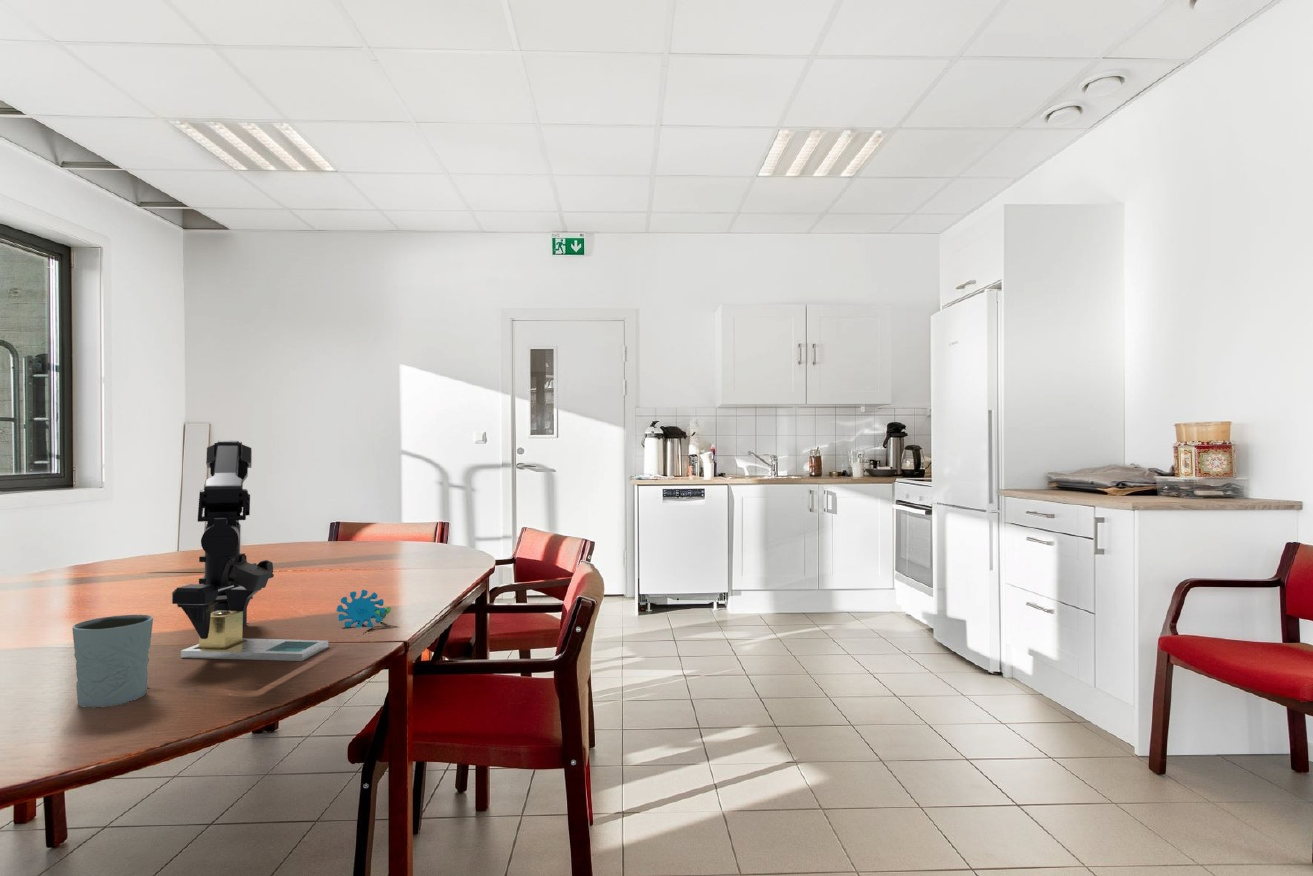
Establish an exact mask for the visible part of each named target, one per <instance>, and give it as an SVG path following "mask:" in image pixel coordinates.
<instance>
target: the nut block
mask: <svg viewBox="0 0 1313 876" xmlns="http://www.w3.org/2000/svg"><path fill="white" fill-rule="evenodd" d="M243 627H244V626H243V611H215V612H212V613H211V618H210V627H209V634H208V638H207V639H201V638H200V636H199V635H198V644H199V649H209V650H227V649H230V648H232V647H234V646H237V645H239V644H241V643H242V638H243Z"/></svg>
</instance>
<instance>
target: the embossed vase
mask: <svg viewBox="0 0 1313 876" xmlns="http://www.w3.org/2000/svg"><path fill="white" fill-rule="evenodd" d="M153 622H154V617H153V615H147V614H126V615H125V614H122V615H112V616H104V617H99V618H93V619H88V620H84V621H81V622H78V623H76V624H74V625H73V626H72V640H73V646H74V647H73V648H74V659H75V661H76V662H75V669H76V670H75V671H76V679H77V681H76V686H75V687H76V696H77V705H78V706H79V705H81V706H85V707H84V708H87V707H101V708H106V707H105V706H109V707H112V706H111V705H115V706H119V704H120V705H124V704H127V702H128V703H130V702H129V701H131V702H133V701H132V700H134V701H136V699H137V700H139V699H140V697H141V698H142V696H143V697H144V696H145V695H146V693H147V687H148V679H149V678H148V677H149V673H148V665H149V661H150V658H149V653H150V651H149V650H150V648H151V642H152V641H151V640H152V631H153V624H154V623H153ZM138 698H139V699H138ZM123 703H124V704H123ZM81 706H80V707H81ZM102 706H104V707H102Z"/></svg>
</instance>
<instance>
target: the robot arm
mask: <svg viewBox="0 0 1313 876" xmlns="http://www.w3.org/2000/svg"><path fill="white" fill-rule="evenodd" d="M252 453H253V452H252V447H250V446H248V445H245V444H243V442H242V441H239V440H217V441H214V444H213V445H210V446H207V447H206V461H205V462H206V468H207V469H210V470H209V471H210V472H209V473H210V475H211V476H210V477H209V478H206V479H205V482H204V486H203V489H200V490H199V498H198V510H197V522H198V523H199V522H200V523H201V522H203V523H204V522H206V523H207V524H206V525H205V529H204V532H203V534H202V536H201V539H200V546H201V548H202V550H203V551H204V555H201V556H198V557H199V558H198V559H199V561H198V562H199V563H204V575H203V577H201V578H198V583H189V584H186V585H182V586H179V587H176V588H175V589H174V590H173V591H172V592H171V604H173V605H176V606H177V608H181V610H182V611H183V612H184V614H185V615H186V616H187V618H188V619H189V621H190V623H191V624H192V626H193V627H194V629H195V631H196V633H197V635H198V637H199V636H200V638H201V639H207V638H208V634H209V627H210V618H211V613H212V612H215V611H243V627H245V626H247V625H250V623H248V621H247V618H248V606H249V603H250V601H251V600H253V599H254V595H256V594H257V593H258V592H259V591H261V590H262V589H263V588H266V586H267V585H268V581H269V580H270V579H273V578H274V574H273V573H274V563H273V562H272V561H270V560H268V559H265V560H262V561H261V560H260V561H259V562H258V563H256V562H254V563H251V562H248V559H247V555H246V553H241V524H240V521H246V520H247V516H250V514H251V513H250V512H251V494H250V493H249V490H248V489H246V488H244V482H246V481H245V480H247V478H248V476H249V468H250V469H251V468H252V461H253V459H252V458H253V456H252Z"/></svg>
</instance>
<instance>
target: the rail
mask: <svg viewBox="0 0 1313 876" xmlns="http://www.w3.org/2000/svg"><path fill="white" fill-rule="evenodd" d="M328 648H329V640H318V639H316V640H315V639H284V638H283V639H279V638H278V639H277V638H276V639H275V638H245V637H242V643H241V644H239V645H237V646H234V647H232V648H230V649H227V650H209V649H199V643H197V644H195V645H192V646H190V647H186V648H184V649H181V650H180V658H183V659H185V658H187V659H213V660H214V659H219V660H220V659H221V660H254V661H255V660H257V661H260V660H261V661H289V662H291V661H293V662H294V661H295V662H302V661H304V660H306V659H309V658H311V657H312V656H314V655H316V654H318V653H319V652H321V651H324V650H326V649H328Z"/></svg>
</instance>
